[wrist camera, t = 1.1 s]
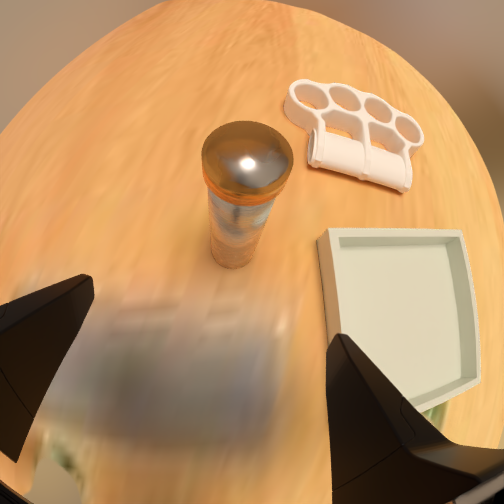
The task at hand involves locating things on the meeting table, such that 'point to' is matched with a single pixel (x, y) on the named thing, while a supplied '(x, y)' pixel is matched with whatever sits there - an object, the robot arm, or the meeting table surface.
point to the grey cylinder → (242, 186)
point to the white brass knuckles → (355, 132)
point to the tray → (405, 306)
